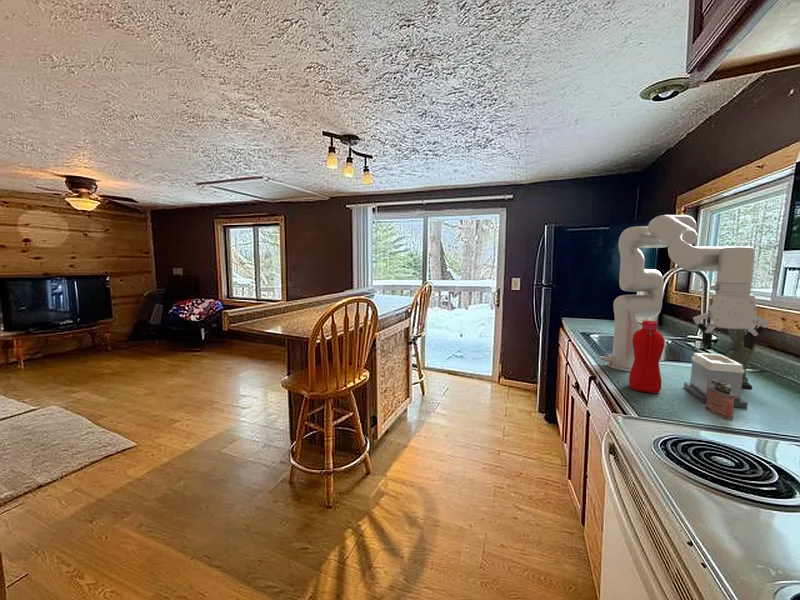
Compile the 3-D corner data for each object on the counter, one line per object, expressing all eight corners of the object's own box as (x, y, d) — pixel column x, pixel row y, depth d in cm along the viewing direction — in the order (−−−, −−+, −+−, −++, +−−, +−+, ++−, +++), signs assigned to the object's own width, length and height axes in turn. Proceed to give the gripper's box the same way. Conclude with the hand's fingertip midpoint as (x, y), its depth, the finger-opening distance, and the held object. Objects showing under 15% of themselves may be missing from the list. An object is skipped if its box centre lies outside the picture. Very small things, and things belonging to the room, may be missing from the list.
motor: (704, 403, 116) (708, 363, 114) (683, 387, 131) (687, 351, 129) (747, 408, 112) (752, 367, 111) (721, 391, 127) (725, 354, 126)
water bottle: (630, 392, 125) (636, 322, 123) (627, 383, 135) (632, 318, 132) (662, 397, 121) (669, 325, 118) (657, 387, 131) (663, 320, 128)
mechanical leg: (764, 390, 125) (758, 305, 129) (740, 389, 127) (735, 305, 130) (736, 386, 139) (731, 309, 142) (714, 385, 140) (710, 309, 144)
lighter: (736, 420, 104) (740, 387, 103) (724, 420, 104) (728, 387, 103) (712, 408, 112) (716, 378, 111) (701, 408, 112) (705, 377, 111)
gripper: (702, 289, 103) (697, 347, 105) (779, 291, 97) (773, 352, 99) (691, 287, 110) (686, 342, 112) (762, 289, 104) (756, 346, 106)
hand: (727, 347), depth 105 cm, fingers open, 9 cm apart
